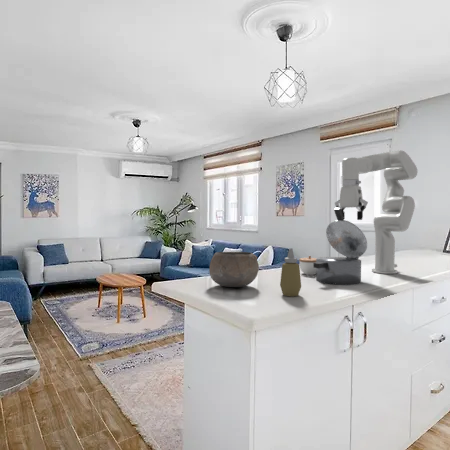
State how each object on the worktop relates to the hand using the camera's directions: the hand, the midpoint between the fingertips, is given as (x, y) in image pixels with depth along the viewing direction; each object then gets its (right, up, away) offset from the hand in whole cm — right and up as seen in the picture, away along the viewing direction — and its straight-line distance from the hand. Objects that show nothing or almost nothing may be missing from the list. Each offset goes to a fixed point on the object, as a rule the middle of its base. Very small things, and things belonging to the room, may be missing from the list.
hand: (350, 219), depth 173 cm
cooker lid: (-4, -7, -3) cm, 9 cm away
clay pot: (-57, -29, -19) cm, 67 cm away
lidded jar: (-16, -28, +15) cm, 36 cm away
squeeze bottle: (-35, -30, -34) cm, 58 cm away
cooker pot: (-10, -29, -7) cm, 31 cm away
